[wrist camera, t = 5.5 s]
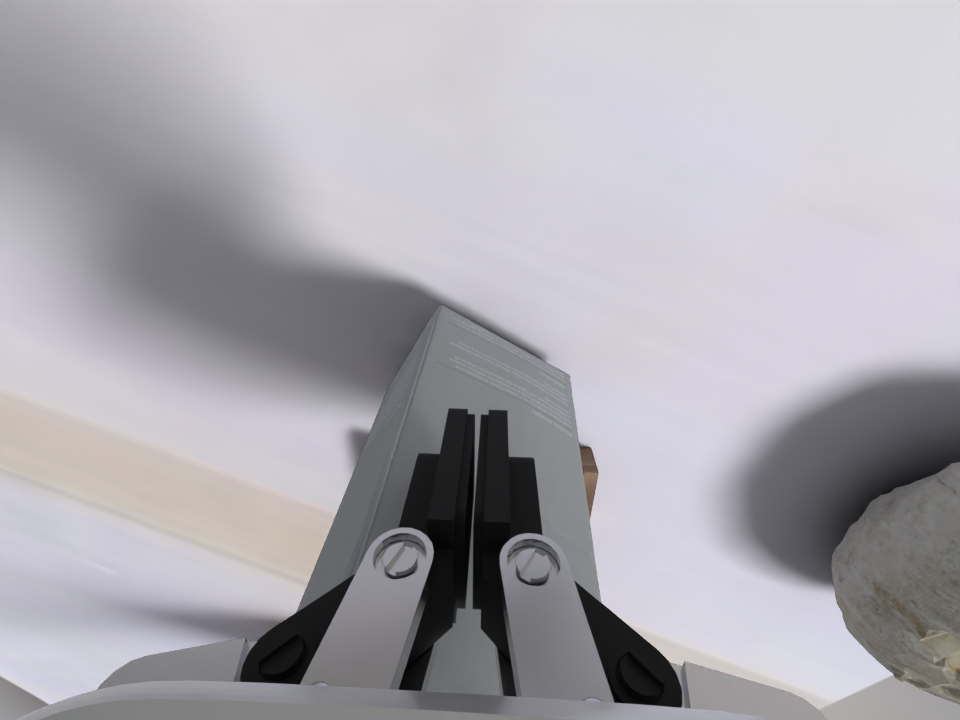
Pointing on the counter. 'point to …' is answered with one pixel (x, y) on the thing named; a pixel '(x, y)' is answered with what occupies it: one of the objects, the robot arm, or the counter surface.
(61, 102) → the counter surface
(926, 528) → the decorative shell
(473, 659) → the skincare box
